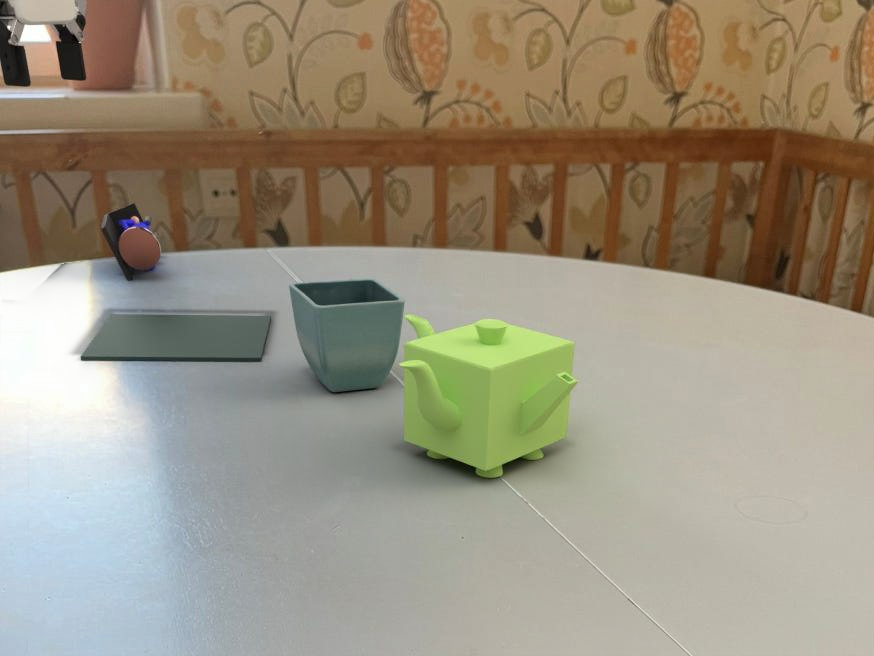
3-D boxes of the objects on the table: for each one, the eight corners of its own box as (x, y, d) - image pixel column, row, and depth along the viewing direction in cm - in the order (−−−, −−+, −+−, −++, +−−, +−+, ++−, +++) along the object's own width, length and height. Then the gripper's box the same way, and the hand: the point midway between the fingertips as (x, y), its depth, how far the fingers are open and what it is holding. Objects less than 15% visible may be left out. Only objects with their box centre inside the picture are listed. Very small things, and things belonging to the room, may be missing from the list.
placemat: (81, 360, 106) (80, 356, 106) (111, 317, 120) (111, 313, 119) (261, 361, 108) (260, 357, 108) (271, 319, 121) (271, 315, 121)
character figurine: (164, 259, 146) (161, 287, 133) (109, 255, 144) (101, 283, 132) (162, 199, 142) (158, 222, 129) (105, 195, 140) (96, 217, 128)
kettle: (399, 489, 82) (399, 347, 76) (392, 425, 94) (391, 298, 88) (586, 487, 84) (600, 348, 78) (556, 425, 96) (566, 300, 90)
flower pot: (406, 393, 101) (407, 298, 97) (319, 403, 98) (315, 306, 93) (374, 366, 108) (373, 276, 103) (292, 375, 105) (286, 282, 100)
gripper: (41, -93, 120) (68, 76, 129) (-73, -104, 106) (-34, 86, 115) (96, -92, 118) (120, 79, 127) (-13, -103, 104) (22, 90, 113)
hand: (47, 82), depth 121 cm, fingers open, 9 cm apart
